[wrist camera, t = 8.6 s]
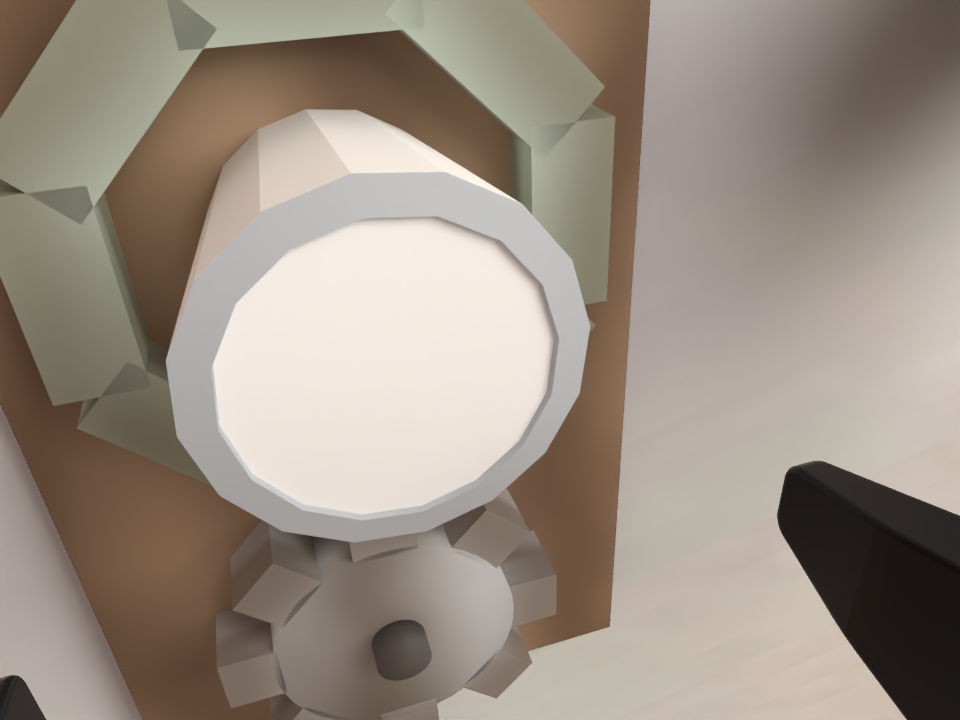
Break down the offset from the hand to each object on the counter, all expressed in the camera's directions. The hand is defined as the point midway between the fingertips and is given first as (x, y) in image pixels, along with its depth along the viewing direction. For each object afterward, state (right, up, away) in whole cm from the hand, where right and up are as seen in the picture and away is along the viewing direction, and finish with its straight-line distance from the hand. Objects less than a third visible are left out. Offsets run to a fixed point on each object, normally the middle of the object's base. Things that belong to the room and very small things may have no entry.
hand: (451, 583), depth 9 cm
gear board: (-3, +2, +13) cm, 13 cm away
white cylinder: (-3, +6, +9) cm, 11 cm away
